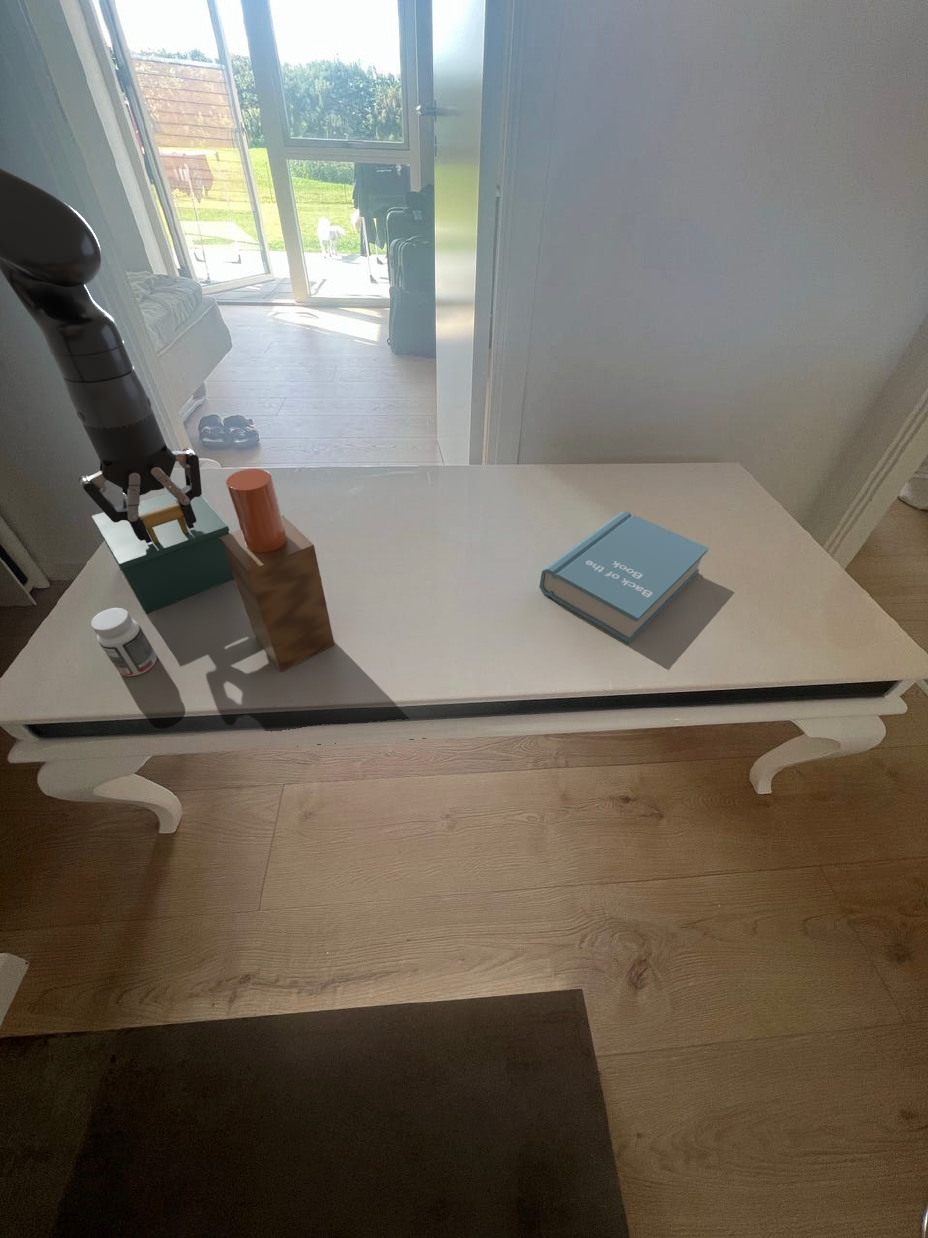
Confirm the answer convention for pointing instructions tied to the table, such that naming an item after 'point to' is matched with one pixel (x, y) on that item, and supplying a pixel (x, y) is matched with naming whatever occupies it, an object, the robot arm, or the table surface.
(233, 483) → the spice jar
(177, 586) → the chest
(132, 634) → the pill bottle
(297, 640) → the stand
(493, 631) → the table surface
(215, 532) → the lid
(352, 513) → the table surface
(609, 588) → the book
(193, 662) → the table surface
